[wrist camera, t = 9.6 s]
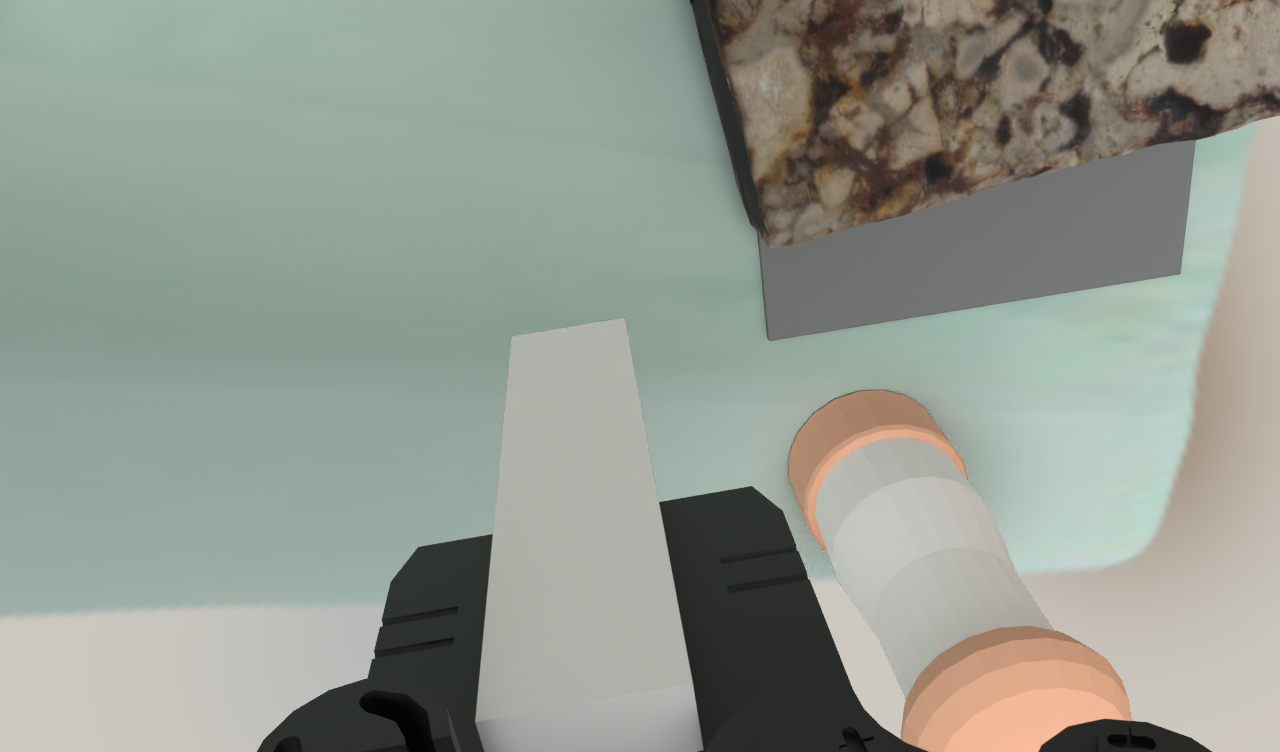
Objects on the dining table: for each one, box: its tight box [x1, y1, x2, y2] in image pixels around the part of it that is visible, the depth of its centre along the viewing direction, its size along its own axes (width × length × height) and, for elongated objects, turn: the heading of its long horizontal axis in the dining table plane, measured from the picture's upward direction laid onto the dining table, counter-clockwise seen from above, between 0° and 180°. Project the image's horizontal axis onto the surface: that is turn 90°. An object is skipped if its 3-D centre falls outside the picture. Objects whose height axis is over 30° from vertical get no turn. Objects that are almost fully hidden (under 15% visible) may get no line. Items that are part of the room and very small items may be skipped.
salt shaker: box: [788, 390, 1132, 752], centre depth 35 cm, size 7×7×19 cm
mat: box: [758, 140, 1196, 341], centre depth 36 cm, size 18×22×1 cm
